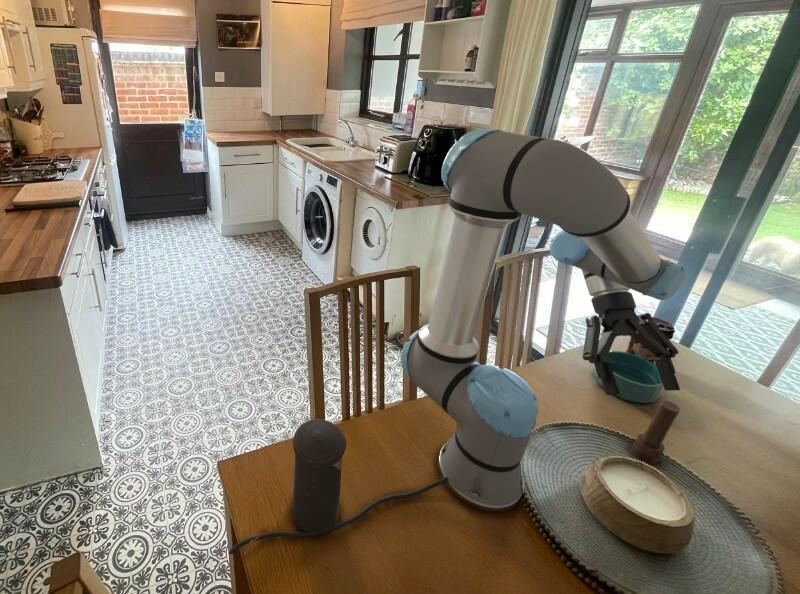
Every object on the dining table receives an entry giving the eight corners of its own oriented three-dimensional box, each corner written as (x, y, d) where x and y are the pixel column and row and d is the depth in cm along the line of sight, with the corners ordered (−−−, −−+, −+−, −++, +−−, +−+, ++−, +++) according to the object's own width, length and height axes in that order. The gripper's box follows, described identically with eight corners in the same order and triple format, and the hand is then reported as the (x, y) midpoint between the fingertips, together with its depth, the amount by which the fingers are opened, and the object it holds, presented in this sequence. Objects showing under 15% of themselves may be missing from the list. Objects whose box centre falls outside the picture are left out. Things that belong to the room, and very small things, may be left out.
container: (349, 521, 73) (358, 442, 65) (308, 549, 69) (311, 469, 61) (321, 483, 80) (325, 407, 72) (281, 506, 76) (281, 429, 67)
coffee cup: (665, 375, 108) (686, 335, 103) (630, 370, 110) (648, 330, 104) (646, 354, 116) (665, 316, 110) (614, 350, 117) (630, 312, 112)
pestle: (646, 466, 84) (674, 416, 78) (625, 449, 87) (650, 400, 81) (662, 462, 85) (691, 412, 79) (641, 444, 88) (667, 396, 82)
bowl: (629, 410, 97) (638, 391, 95) (580, 373, 109) (587, 355, 106) (670, 399, 100) (680, 380, 98) (618, 364, 112) (626, 347, 109)
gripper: (646, 296, 97) (680, 389, 90) (547, 300, 95) (574, 396, 88) (676, 287, 90) (715, 388, 83) (570, 292, 88) (602, 396, 81)
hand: (643, 392), depth 86 cm, fingers open, 13 cm apart
